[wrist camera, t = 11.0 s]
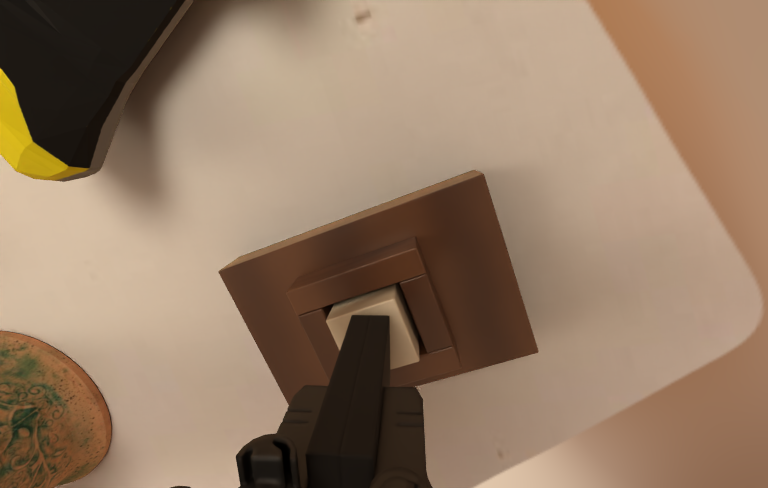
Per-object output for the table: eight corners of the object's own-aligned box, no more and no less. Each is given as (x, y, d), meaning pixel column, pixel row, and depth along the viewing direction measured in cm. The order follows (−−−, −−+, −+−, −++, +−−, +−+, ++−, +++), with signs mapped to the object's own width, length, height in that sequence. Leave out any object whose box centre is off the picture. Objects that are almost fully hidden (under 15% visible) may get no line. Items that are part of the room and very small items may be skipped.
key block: (474, 169, 17) (493, 177, 13) (524, 329, 19) (553, 376, 15) (239, 257, 19) (196, 286, 15) (307, 392, 21) (284, 447, 17)
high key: (396, 279, 16) (394, 298, 14) (419, 335, 17) (420, 361, 15) (335, 299, 16) (325, 320, 14) (359, 353, 17) (353, 381, 15)
